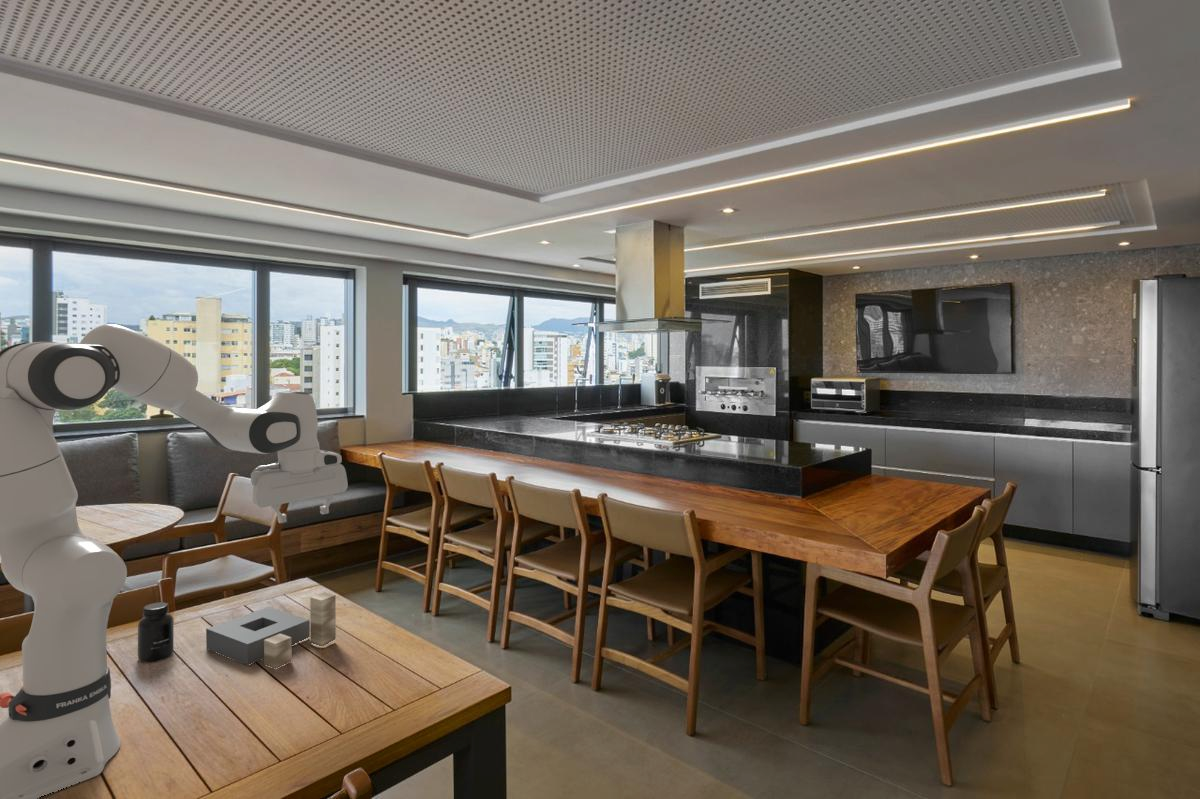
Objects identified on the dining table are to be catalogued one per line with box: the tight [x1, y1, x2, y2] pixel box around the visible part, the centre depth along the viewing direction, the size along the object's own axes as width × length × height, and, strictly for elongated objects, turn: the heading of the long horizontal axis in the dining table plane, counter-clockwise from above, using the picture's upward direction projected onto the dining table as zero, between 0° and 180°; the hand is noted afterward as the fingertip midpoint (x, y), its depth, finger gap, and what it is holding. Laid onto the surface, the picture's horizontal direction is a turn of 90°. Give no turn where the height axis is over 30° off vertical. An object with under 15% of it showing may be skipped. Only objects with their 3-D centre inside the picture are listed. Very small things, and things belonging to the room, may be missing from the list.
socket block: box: [205, 606, 311, 666], centre depth 156 cm, size 16×16×5 cm
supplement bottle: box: [137, 601, 175, 663], centre depth 148 cm, size 7×7×12 cm
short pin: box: [263, 634, 293, 669], centre depth 146 cm, size 4×4×6 cm
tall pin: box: [309, 591, 337, 646], centre depth 156 cm, size 4×4×12 cm
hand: (303, 517), depth 150 cm, fingers open, 8 cm apart
